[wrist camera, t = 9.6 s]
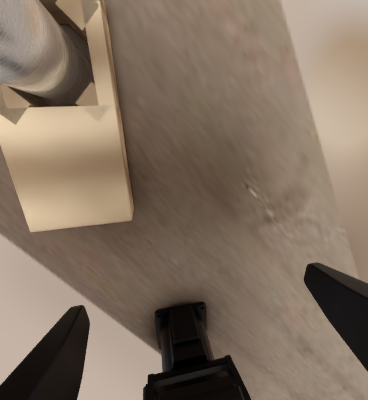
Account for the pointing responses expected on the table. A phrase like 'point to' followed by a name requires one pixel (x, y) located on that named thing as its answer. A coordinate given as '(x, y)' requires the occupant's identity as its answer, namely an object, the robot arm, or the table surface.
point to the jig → (70, 138)
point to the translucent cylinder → (40, 53)
